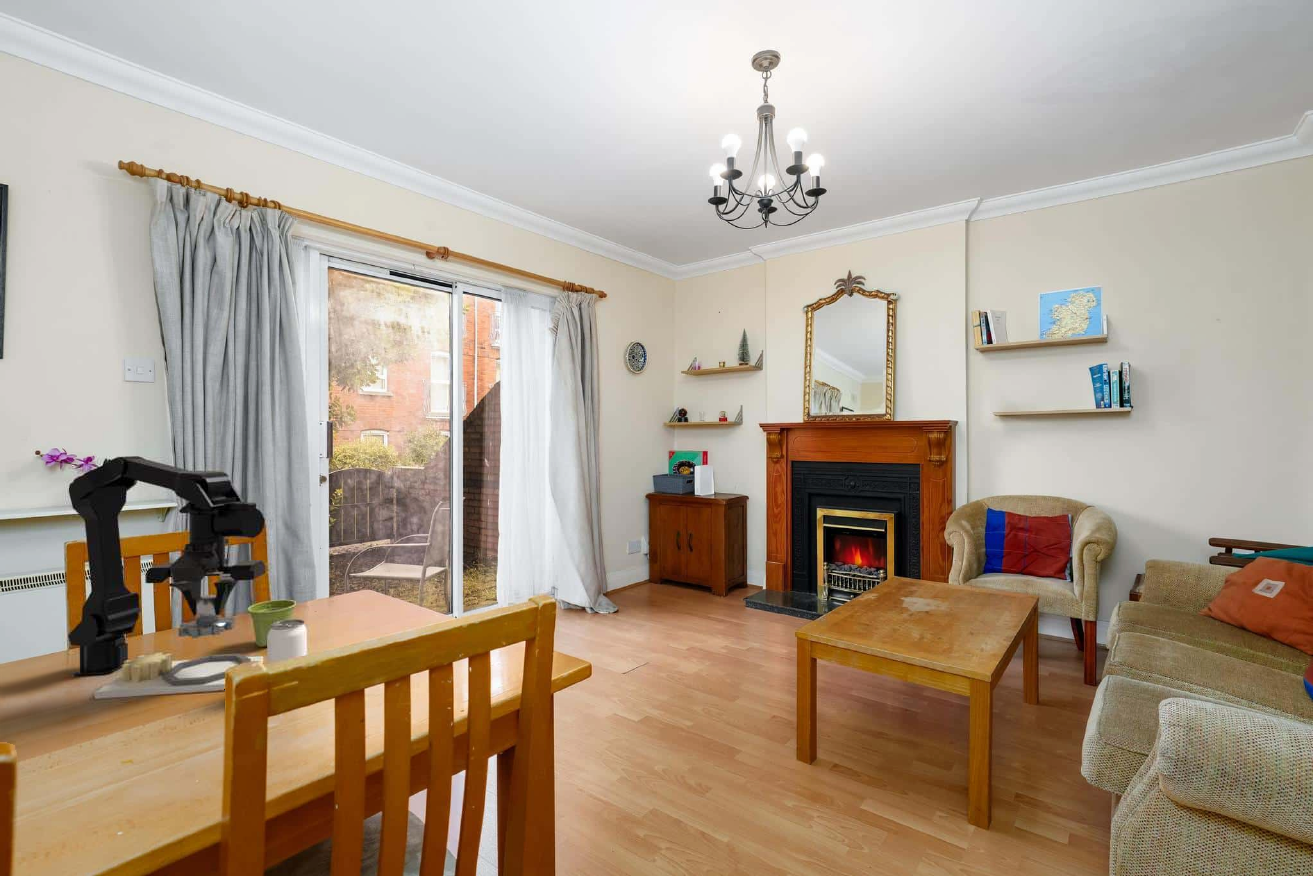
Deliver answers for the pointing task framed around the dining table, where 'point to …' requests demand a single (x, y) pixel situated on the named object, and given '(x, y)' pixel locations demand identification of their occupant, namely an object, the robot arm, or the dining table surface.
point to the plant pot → (269, 617)
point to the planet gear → (206, 620)
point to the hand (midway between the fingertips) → (207, 614)
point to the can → (286, 640)
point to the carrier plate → (172, 675)
